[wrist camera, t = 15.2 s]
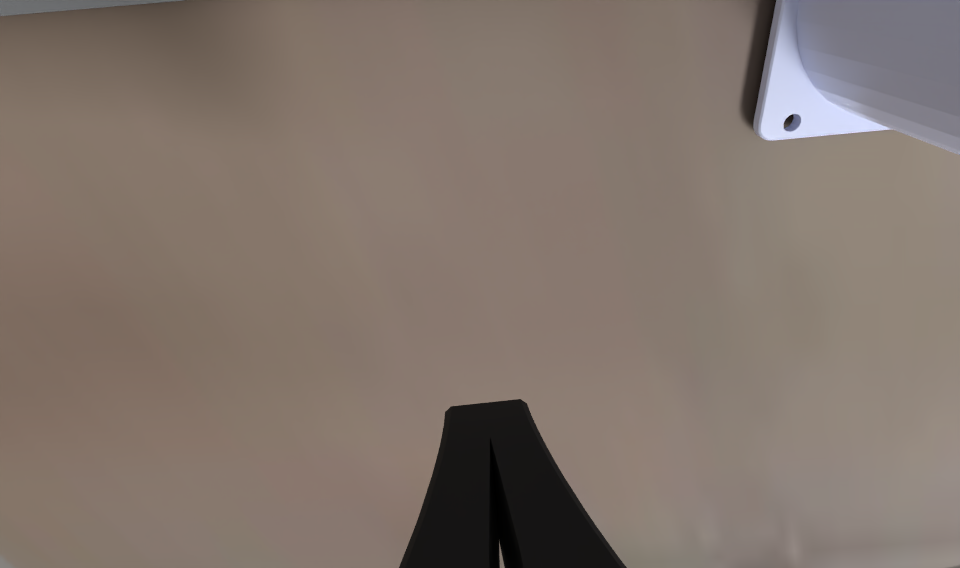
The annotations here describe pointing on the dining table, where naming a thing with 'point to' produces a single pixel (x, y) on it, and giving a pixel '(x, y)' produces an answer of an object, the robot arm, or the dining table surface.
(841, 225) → the dining table surface
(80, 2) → the mat
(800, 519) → the dining table surface
